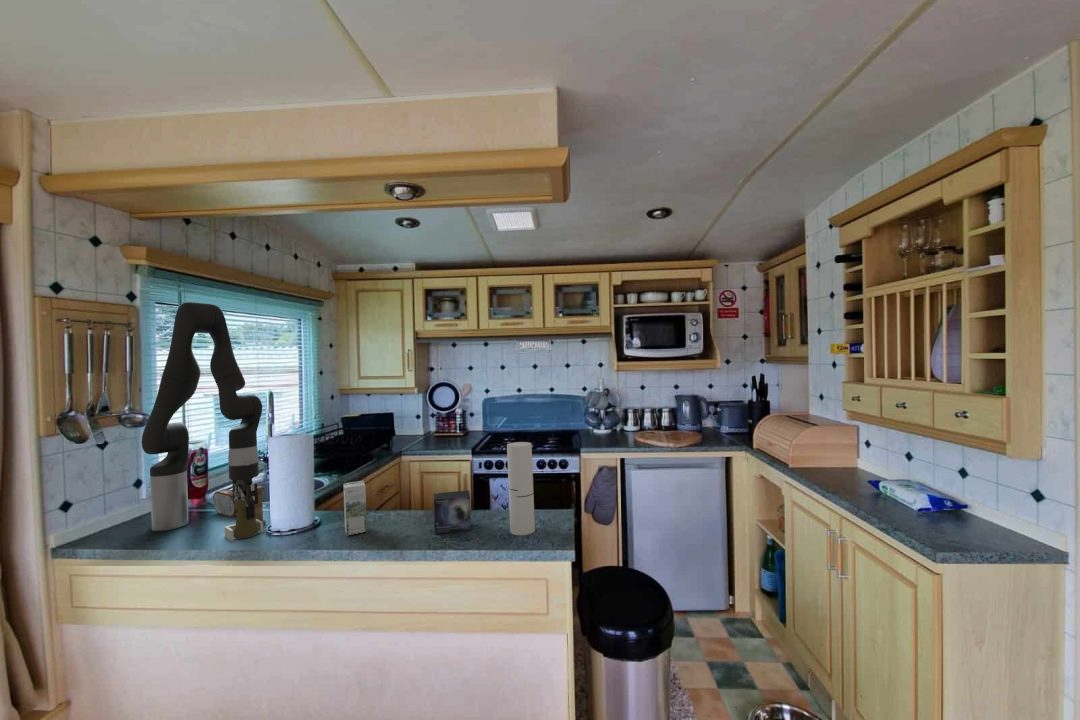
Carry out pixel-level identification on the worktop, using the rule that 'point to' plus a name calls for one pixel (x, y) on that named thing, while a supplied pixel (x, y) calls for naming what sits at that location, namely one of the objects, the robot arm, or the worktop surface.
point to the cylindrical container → (520, 488)
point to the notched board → (231, 530)
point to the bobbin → (259, 505)
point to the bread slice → (224, 503)
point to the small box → (452, 512)
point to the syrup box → (355, 507)
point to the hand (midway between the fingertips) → (245, 515)
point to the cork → (244, 522)
